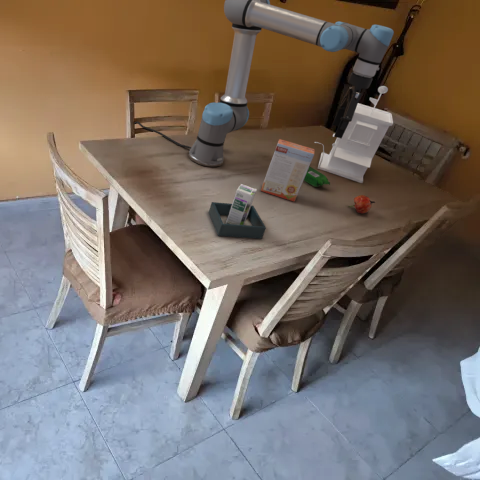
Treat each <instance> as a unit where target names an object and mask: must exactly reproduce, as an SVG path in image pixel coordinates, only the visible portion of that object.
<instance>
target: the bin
mask: <svg viewBox="0 0 480 480" xmlns="http://www.w3.org/2000/svg"><path fill="white" fill-rule="evenodd" d="M209 206H210V207H209V210H208V215H209V218H210V219H211V222H212V224H213V227H214V229H215V232H216V234H217V236H218V237H231V238H233V237H234V238H244V239H260V240H261V239H263V237H264V234H265V232H266V230H267V227H266V224H264V221H263V220H262V218H261V216H260V214H259V213H258V211H257V209H256V208H255V206H254V205H251V208H250V210H249V213H248V216H247V218H248V219H249V221H250V223H251V225H247V224H244V225H237V224H226V223H224V222H223V220H222V217H221V216H228V215H229V212H230V209H231V206H232V203H227V202H215V201H211V202H210V205H209Z"/></svg>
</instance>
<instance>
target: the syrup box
mask: <svg viewBox="0 0 480 480" xmlns="http://www.w3.org/2000/svg"><path fill="white" fill-rule="evenodd" d="M257 191H258V189H257V188H253V187H251V186H248V185H245V184H243V183H240V185H239V186H238V188H237V189H236V191H235V194H234V197H233V199H232V203H231V204H232V206H231V209H230V212H229V215H227V219H226V221H225V224H237V225H246V221H247V218H248V217H247V216H248V213H249V210H250V208H251V206H253V202H254V200H255V196H256V194H257Z"/></svg>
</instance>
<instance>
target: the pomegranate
mask: <svg viewBox="0 0 480 480" xmlns="http://www.w3.org/2000/svg"><path fill="white" fill-rule="evenodd" d="M353 203H354V205H348V208H352V207H354V208H355V210H356V213H357V214H366V213H368V212H369V211H370V210H371V208H372V204H376V201H373V200H371V199H370V198H369V196H366V195H364V194H360V195H357V196H355V197H354V198H353Z"/></svg>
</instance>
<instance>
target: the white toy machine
mask: <svg viewBox="0 0 480 480" xmlns="http://www.w3.org/2000/svg"><path fill="white" fill-rule="evenodd" d="M388 91H389V88H388V87H387V86H385V85H380V86H379V87H378V88H377V92H378V93H379V95H378V98H377V99H376V98H373V97H369V100H368V101H370V102H371V103H372V104H373V107H372V106H369V105H365V104H362V103H359V102H358V104H357V107H356V110H355V112H354V115H353V118H352V121H351V122H349V124H348V126H347V128H346V130H345V132H344V134H343V136H342V139H341V138H338V137H336V139H335V141H334V142H333V143H331V146H332V147H331V150H330V151H329V153H327V152H325V145H324V144H323V143H321V142H318V141H314V142H313V143H314V144H319V145H322V152H321V154H320V157H319V161H318V164H317V165H318V166H317V169H318V170H321V171H325V172H327V173H330V174H333V175H336V176H339V177H342V178H344V179H348V180H351V181H354V182H357V183H360V184H363V183H364V175H365V174H366V172H367V170H368V168H369V169H370V168H371V165H372V161H373V158H374V156H375V155H376V152H377V150H378V149H379V147H380V145H381V143H382V141H383V139H384V137H385V135H386V133H387V131H388V129H389V128H390V127H393V125H394V119H393V114H392V113H391V112H389V111H386V110H382V109H379V108H377V107H376V106H377V105H378V102H379V101H380V99H381V96H382V94H387V92H388ZM334 135H335V133H333V134H332V138H335V137H334Z"/></svg>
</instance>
